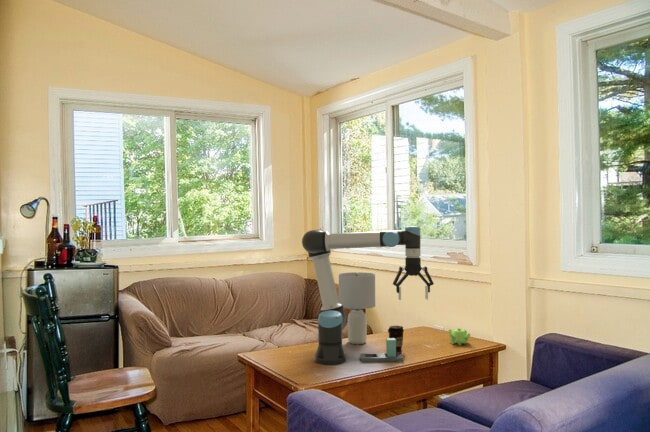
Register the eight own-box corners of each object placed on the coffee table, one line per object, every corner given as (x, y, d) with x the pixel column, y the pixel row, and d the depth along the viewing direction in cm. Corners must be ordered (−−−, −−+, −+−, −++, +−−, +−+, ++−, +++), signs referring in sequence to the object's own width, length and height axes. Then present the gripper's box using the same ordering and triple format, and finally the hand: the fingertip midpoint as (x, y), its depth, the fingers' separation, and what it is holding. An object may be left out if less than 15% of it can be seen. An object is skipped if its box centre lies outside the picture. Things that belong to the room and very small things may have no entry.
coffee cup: (407, 351, 269) (407, 326, 269) (398, 354, 263) (398, 329, 263) (393, 348, 275) (393, 324, 275) (384, 351, 269) (384, 326, 269)
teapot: (469, 341, 290) (469, 326, 290) (470, 346, 279) (470, 331, 279) (448, 340, 292) (448, 325, 292) (449, 345, 281) (449, 330, 281)
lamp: (331, 342, 290) (331, 273, 290) (356, 336, 304) (356, 270, 304) (357, 349, 275) (357, 275, 275) (383, 342, 289) (382, 272, 289)
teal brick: (387, 360, 253) (387, 340, 253) (386, 358, 257) (386, 338, 257) (396, 360, 253) (395, 339, 253) (394, 358, 257) (394, 338, 257)
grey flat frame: (362, 362, 250) (361, 358, 250) (360, 357, 259) (359, 353, 259) (403, 361, 251) (403, 357, 251) (399, 356, 260) (399, 352, 260)
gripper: (389, 257, 255) (389, 300, 255) (439, 257, 256) (439, 300, 256) (387, 256, 263) (387, 298, 263) (435, 256, 264) (435, 297, 264)
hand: (413, 299), depth 260 cm, fingers open, 13 cm apart
